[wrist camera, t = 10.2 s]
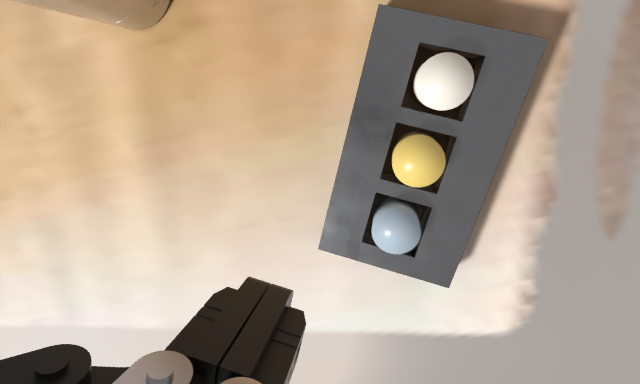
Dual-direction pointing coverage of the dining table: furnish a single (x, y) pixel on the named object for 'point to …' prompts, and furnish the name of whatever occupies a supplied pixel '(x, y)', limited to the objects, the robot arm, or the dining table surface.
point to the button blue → (396, 226)
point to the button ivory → (443, 81)
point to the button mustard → (417, 159)
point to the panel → (466, 131)
